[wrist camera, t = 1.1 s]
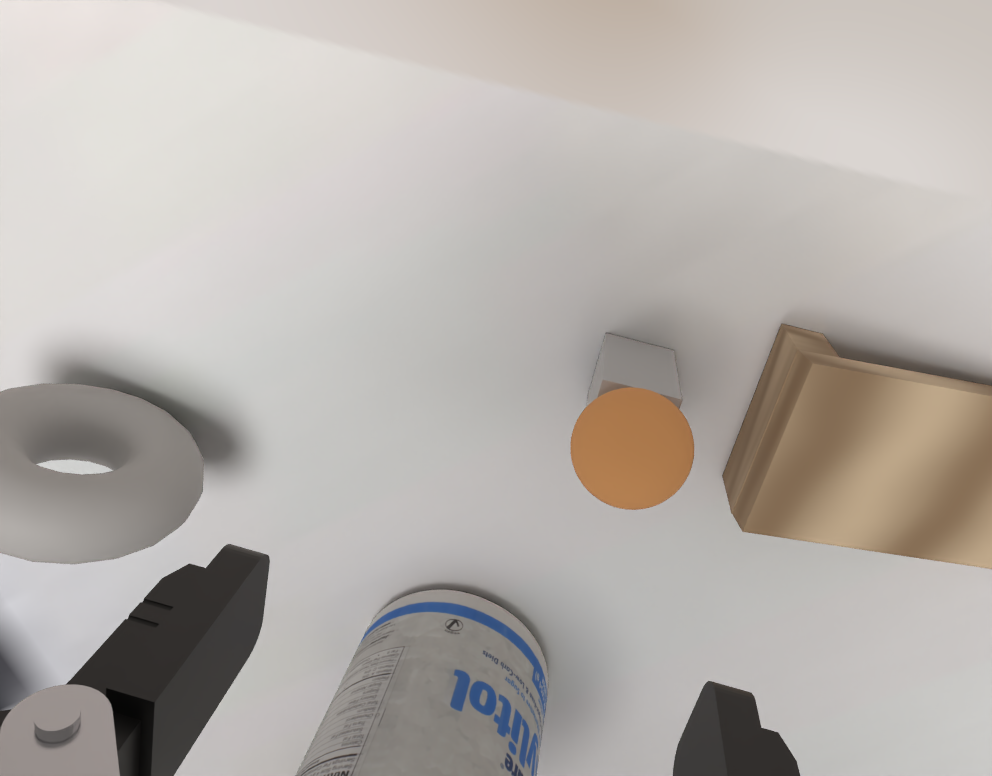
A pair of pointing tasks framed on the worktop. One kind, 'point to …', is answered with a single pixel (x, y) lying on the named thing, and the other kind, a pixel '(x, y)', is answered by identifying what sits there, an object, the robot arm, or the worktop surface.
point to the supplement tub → (436, 694)
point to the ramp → (864, 456)
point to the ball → (632, 448)
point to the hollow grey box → (635, 369)
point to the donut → (91, 497)
